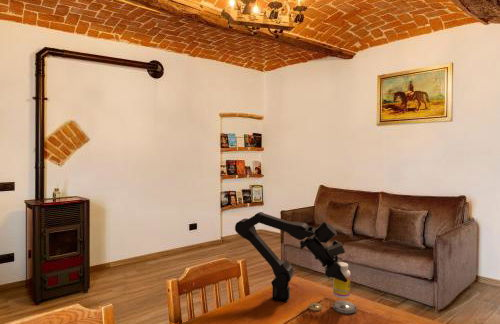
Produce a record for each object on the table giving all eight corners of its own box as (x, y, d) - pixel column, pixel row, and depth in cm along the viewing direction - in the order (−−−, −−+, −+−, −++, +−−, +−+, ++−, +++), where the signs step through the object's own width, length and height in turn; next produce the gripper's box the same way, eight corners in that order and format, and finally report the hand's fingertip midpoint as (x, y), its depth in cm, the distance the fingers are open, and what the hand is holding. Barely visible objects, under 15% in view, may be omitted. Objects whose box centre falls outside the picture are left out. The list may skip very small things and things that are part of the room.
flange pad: (331, 312, 136) (331, 308, 136) (333, 302, 145) (333, 298, 145) (356, 315, 133) (356, 312, 133) (356, 305, 142) (356, 302, 142)
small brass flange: (307, 310, 137) (307, 307, 137) (309, 304, 142) (309, 302, 142) (320, 312, 136) (320, 309, 136) (322, 306, 141) (322, 303, 141)
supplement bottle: (350, 299, 137) (351, 267, 136) (333, 298, 139) (334, 266, 137) (349, 292, 144) (350, 261, 143) (332, 290, 145) (333, 260, 144)
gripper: (335, 242, 131) (365, 273, 130) (330, 230, 149) (356, 257, 149) (313, 262, 132) (342, 293, 132) (311, 247, 151) (337, 274, 150)
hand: (345, 278), depth 140 cm, fingers closed on supplement bottle, 7 cm apart
